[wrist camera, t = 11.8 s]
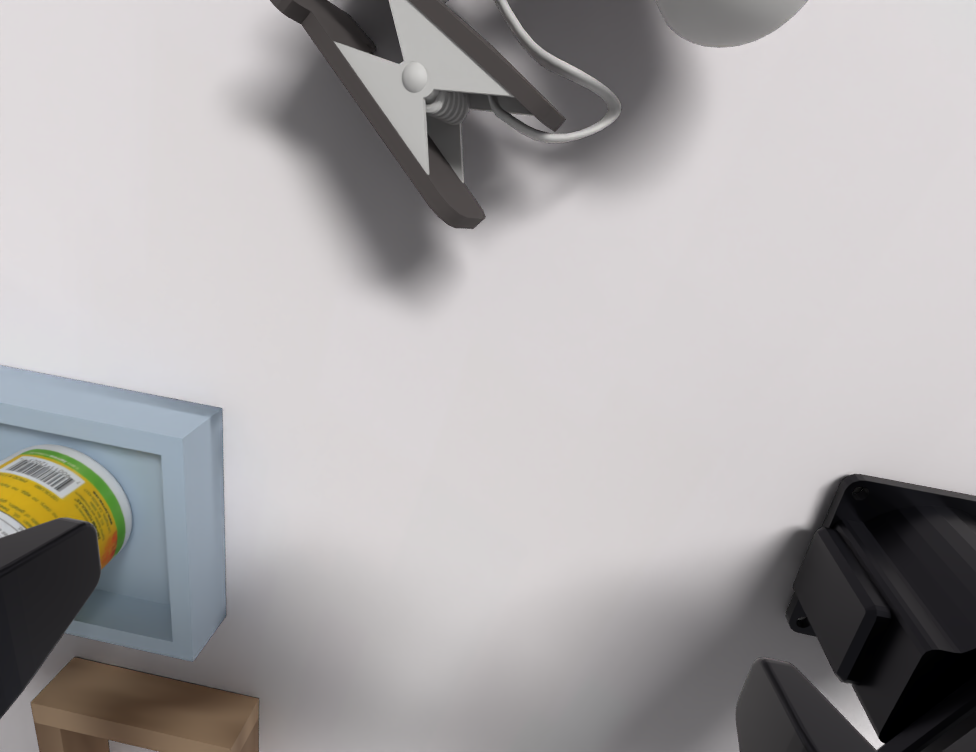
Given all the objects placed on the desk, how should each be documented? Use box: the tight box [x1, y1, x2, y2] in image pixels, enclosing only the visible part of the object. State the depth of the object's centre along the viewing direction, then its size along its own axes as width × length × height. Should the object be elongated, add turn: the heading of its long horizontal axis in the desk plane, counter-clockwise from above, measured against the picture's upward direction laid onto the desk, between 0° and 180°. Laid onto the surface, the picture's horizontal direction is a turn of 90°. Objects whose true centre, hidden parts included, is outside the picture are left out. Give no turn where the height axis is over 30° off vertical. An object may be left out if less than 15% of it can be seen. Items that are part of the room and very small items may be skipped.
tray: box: [0, 365, 226, 662], centre depth 24 cm, size 12×10×2 cm
